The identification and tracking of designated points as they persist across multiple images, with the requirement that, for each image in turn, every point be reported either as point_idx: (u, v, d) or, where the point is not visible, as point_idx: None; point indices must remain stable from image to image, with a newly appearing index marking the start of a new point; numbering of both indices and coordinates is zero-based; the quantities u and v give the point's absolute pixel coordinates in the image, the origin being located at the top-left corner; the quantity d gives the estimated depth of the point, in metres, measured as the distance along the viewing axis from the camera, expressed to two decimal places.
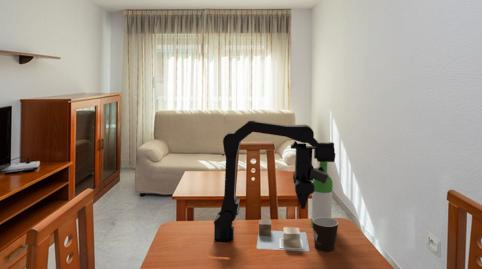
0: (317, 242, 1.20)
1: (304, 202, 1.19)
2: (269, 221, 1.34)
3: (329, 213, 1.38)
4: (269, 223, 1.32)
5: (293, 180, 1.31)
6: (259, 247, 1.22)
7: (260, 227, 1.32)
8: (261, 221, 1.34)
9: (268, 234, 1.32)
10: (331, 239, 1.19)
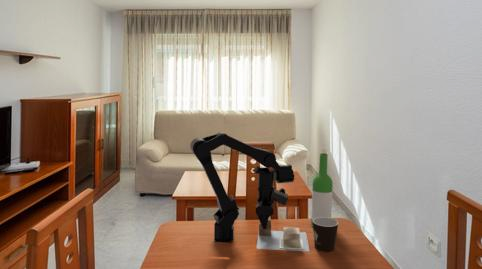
0: (317, 242, 1.20)
1: (265, 223, 1.28)
2: (269, 221, 1.34)
3: (329, 213, 1.38)
4: (269, 223, 1.32)
5: None
6: (259, 247, 1.22)
7: (260, 227, 1.32)
8: None
9: (268, 234, 1.32)
10: (331, 239, 1.19)
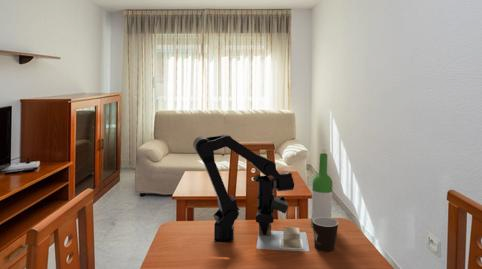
0: (317, 242, 1.20)
1: (265, 228, 1.30)
2: None
3: (329, 213, 1.38)
4: (269, 223, 1.32)
5: (258, 210, 1.37)
6: (259, 247, 1.22)
7: None
8: None
9: (268, 234, 1.32)
10: (331, 239, 1.19)
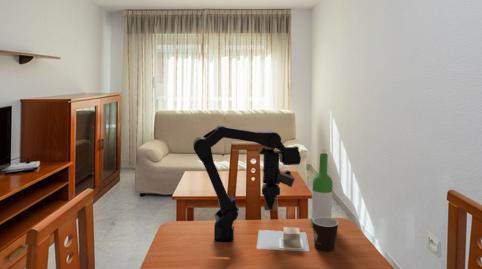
0: (317, 242, 1.20)
1: (271, 203, 1.27)
2: (275, 196, 1.31)
3: (329, 213, 1.38)
4: (275, 197, 1.29)
5: None
6: (259, 247, 1.22)
7: None
8: None
9: (274, 209, 1.29)
10: (331, 239, 1.19)
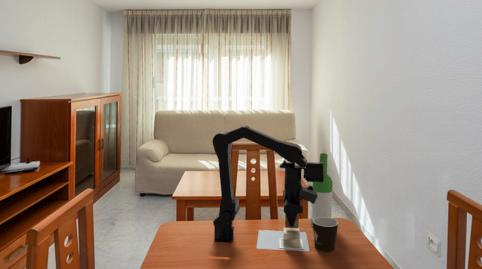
0: (317, 242, 1.20)
1: (292, 220, 1.21)
2: None
3: (329, 213, 1.38)
4: None
5: (283, 200, 1.28)
6: (259, 247, 1.22)
7: None
8: None
9: (296, 226, 1.22)
10: (331, 239, 1.19)
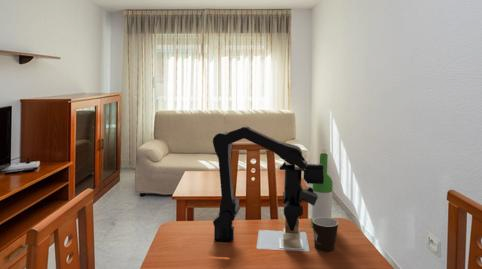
0: (317, 242, 1.20)
1: (293, 224, 1.19)
2: None
3: (329, 213, 1.38)
4: None
5: (283, 200, 1.30)
6: (259, 247, 1.22)
7: (287, 224, 1.22)
8: None
9: (296, 231, 1.22)
10: (331, 239, 1.19)
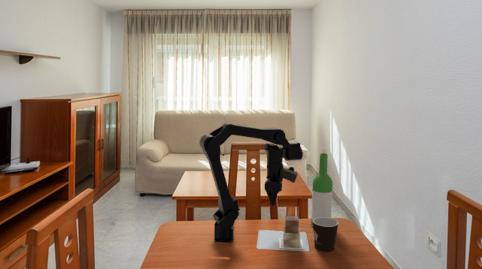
0: (317, 242, 1.20)
1: (274, 199, 1.29)
2: (296, 217, 1.25)
3: (329, 213, 1.38)
4: (296, 219, 1.23)
5: (267, 179, 1.40)
6: (259, 247, 1.22)
7: (287, 224, 1.22)
8: (288, 217, 1.25)
9: (296, 231, 1.22)
10: (331, 239, 1.19)
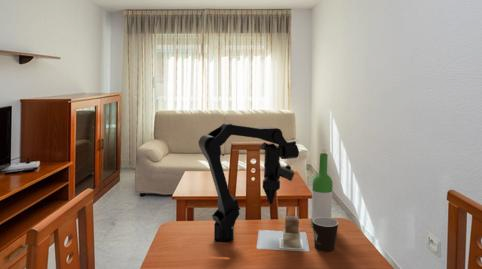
0: (317, 242, 1.20)
1: (271, 198, 1.30)
2: (296, 217, 1.25)
3: (329, 213, 1.38)
4: (296, 219, 1.23)
5: (264, 178, 1.42)
6: (259, 247, 1.22)
7: (287, 224, 1.22)
8: (288, 217, 1.25)
9: (296, 231, 1.22)
10: (331, 239, 1.19)
